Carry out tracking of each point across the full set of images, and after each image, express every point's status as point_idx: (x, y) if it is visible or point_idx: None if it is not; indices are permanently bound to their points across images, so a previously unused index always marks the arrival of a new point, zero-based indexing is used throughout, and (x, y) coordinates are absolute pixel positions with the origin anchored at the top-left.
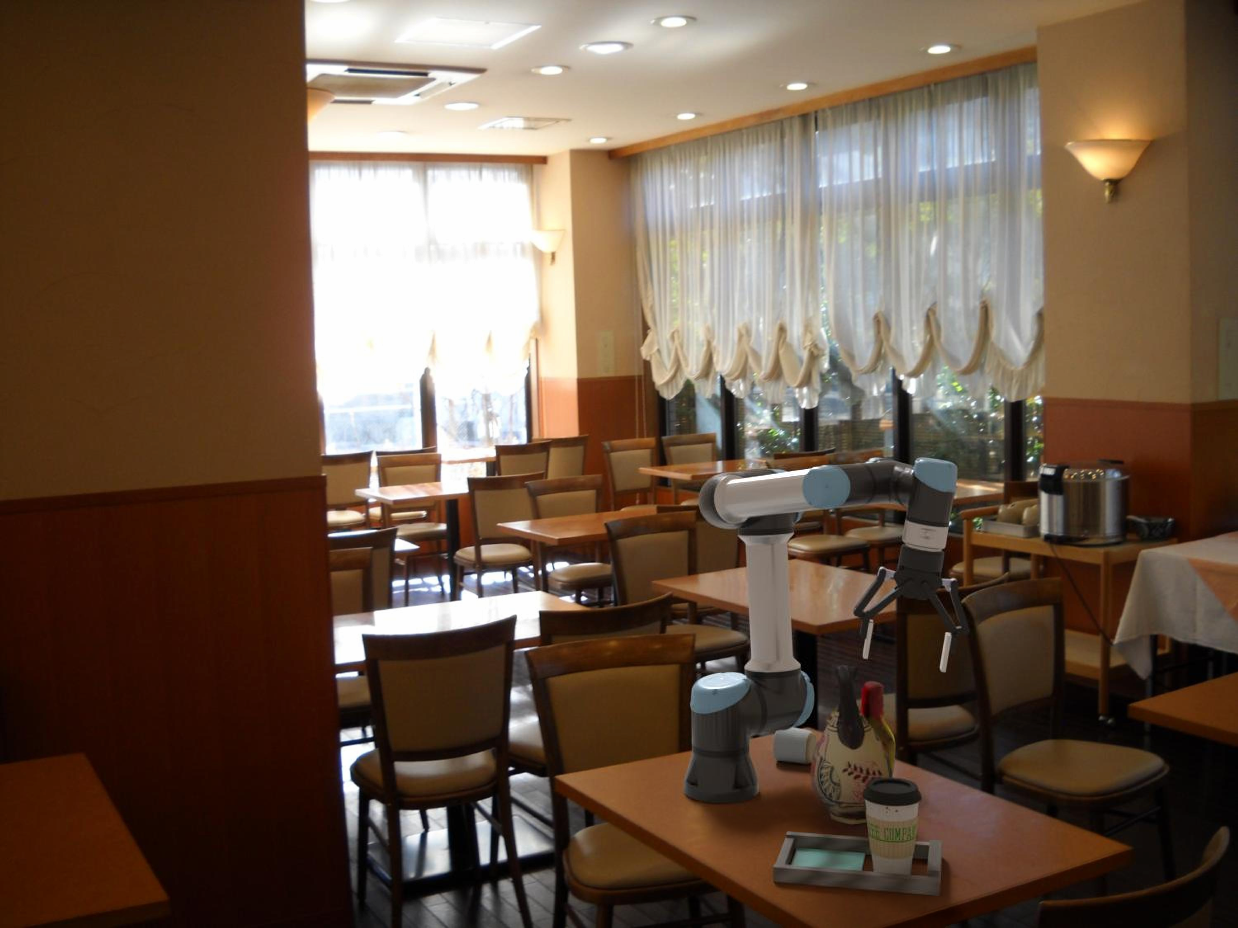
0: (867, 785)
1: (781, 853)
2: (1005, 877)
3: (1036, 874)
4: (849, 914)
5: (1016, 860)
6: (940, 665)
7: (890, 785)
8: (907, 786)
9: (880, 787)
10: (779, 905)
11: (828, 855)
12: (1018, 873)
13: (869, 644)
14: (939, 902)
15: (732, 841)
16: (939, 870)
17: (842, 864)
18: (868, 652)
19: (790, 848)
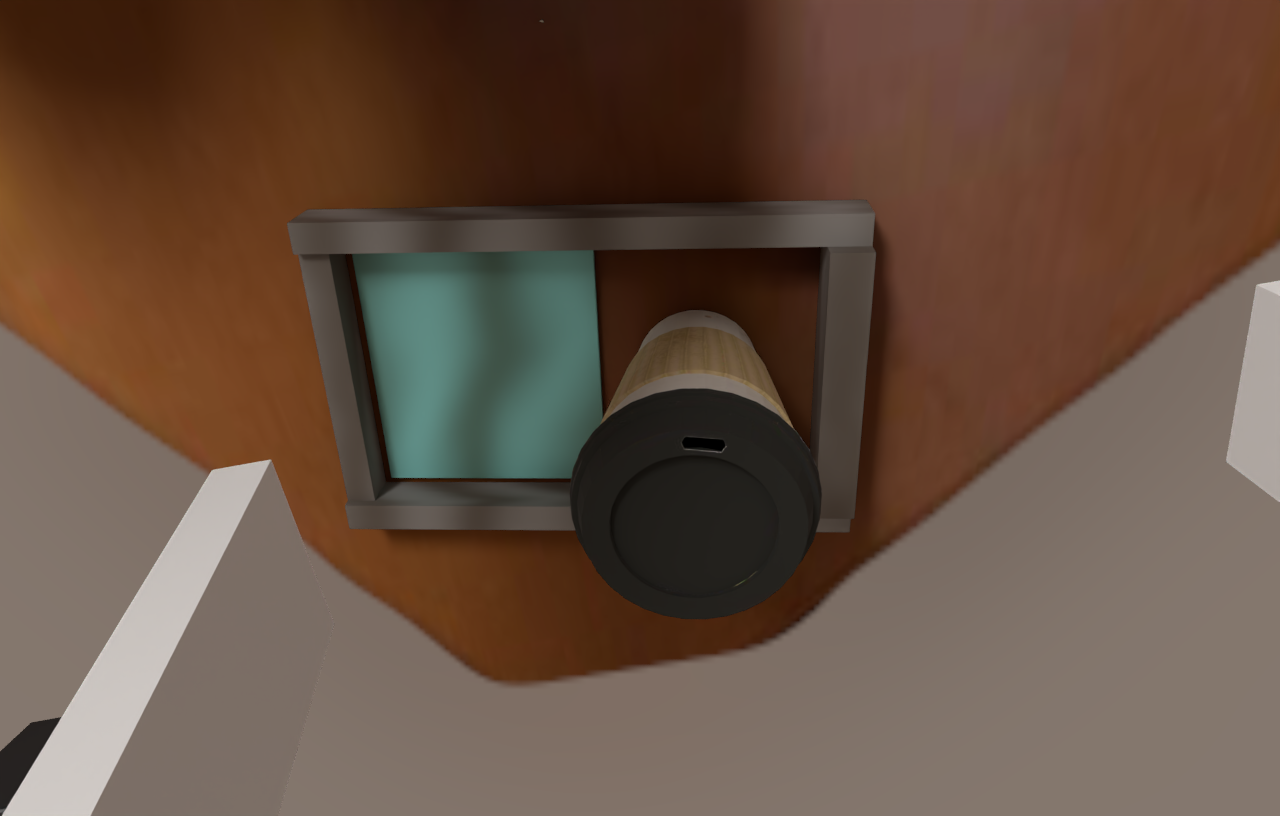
0: (589, 549)
1: (334, 400)
2: (1069, 335)
3: (1186, 288)
4: (608, 649)
5: (1146, 170)
6: (1276, 341)
7: (685, 493)
8: (762, 490)
9: (645, 535)
10: (427, 633)
11: (473, 297)
12: (1123, 292)
13: (283, 777)
14: (840, 546)
15: (116, 219)
16: (853, 513)
17: (534, 363)
18: (314, 683)
19: (347, 349)
